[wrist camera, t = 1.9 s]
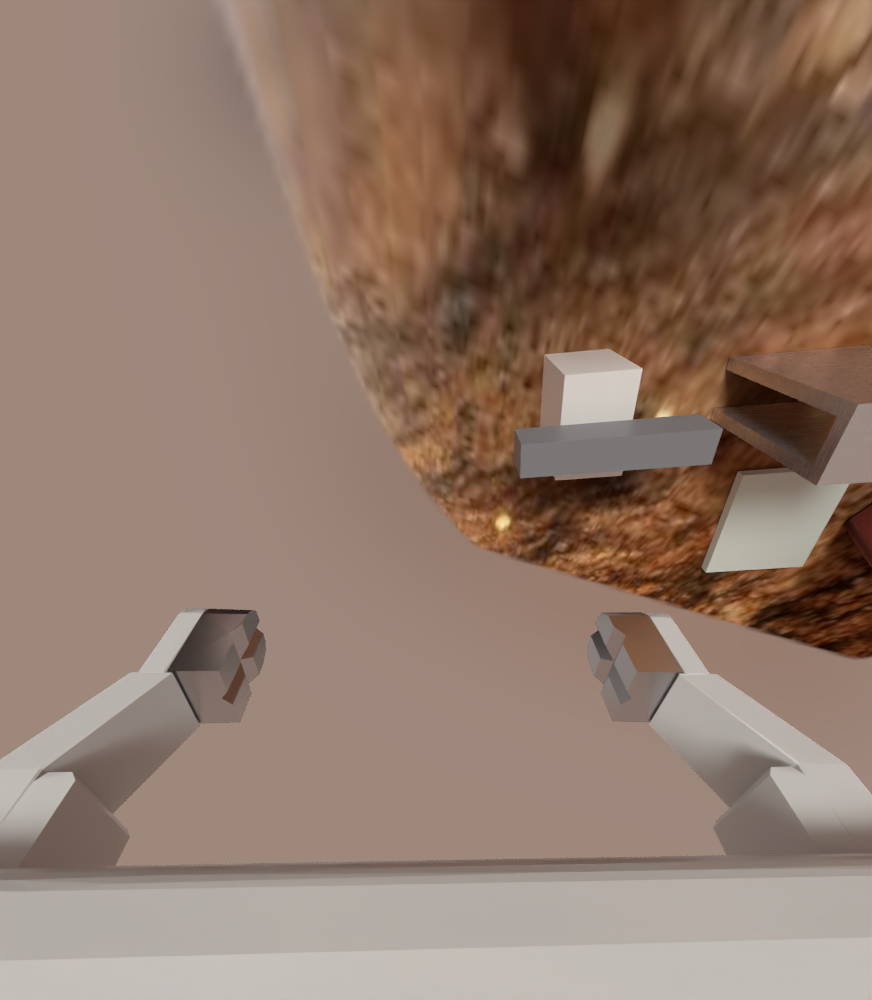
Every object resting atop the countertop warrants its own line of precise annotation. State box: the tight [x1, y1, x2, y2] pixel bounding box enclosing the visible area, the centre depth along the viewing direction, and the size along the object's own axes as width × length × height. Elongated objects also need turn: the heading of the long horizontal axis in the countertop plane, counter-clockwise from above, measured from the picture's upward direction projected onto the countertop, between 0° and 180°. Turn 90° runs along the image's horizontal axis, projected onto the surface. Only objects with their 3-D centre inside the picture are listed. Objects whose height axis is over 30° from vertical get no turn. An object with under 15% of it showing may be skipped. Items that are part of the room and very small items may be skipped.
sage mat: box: [701, 468, 849, 573], centre depth 39 cm, size 10×12×1 cm
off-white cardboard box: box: [540, 349, 643, 480], centre depth 30 cm, size 5×8×6 cm, turn 5°
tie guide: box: [711, 345, 872, 486], centre depth 27 cm, size 10×5×11 cm, turn 95°
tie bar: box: [514, 414, 723, 478], centre depth 25 cm, size 12×2×2 cm, turn 95°
